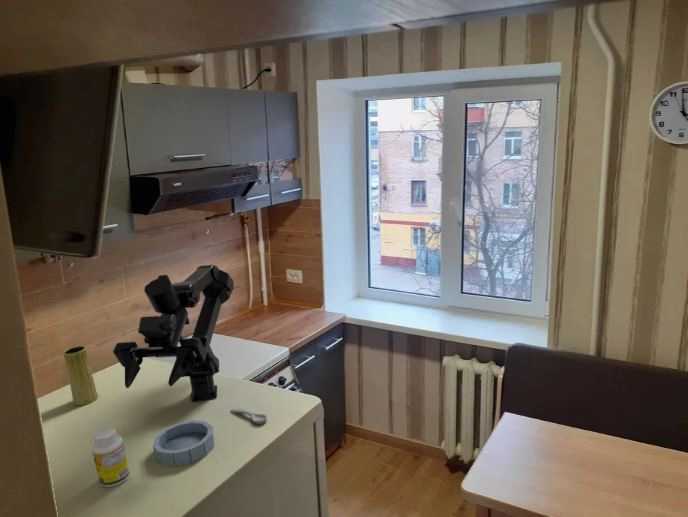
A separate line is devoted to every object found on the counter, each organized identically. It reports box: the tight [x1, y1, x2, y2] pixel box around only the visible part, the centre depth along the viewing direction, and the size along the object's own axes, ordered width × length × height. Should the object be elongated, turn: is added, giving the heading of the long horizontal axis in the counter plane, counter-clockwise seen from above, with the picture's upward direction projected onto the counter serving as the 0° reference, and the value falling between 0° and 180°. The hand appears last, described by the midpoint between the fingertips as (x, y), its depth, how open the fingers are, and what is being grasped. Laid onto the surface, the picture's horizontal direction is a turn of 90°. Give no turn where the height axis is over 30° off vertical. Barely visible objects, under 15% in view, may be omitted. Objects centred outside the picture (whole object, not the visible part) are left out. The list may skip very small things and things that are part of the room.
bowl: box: [152, 419, 216, 467], centre depth 110 cm, size 12×12×3 cm
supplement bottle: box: [91, 427, 131, 488], centre depth 101 cm, size 6×6×10 cm
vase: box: [63, 345, 99, 406], centre depth 136 cm, size 6×6×14 cm
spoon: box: [230, 406, 268, 425], centre depth 121 cm, size 3×12×2 cm, turn 49°
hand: (148, 385), depth 106 cm, fingers open, 9 cm apart
